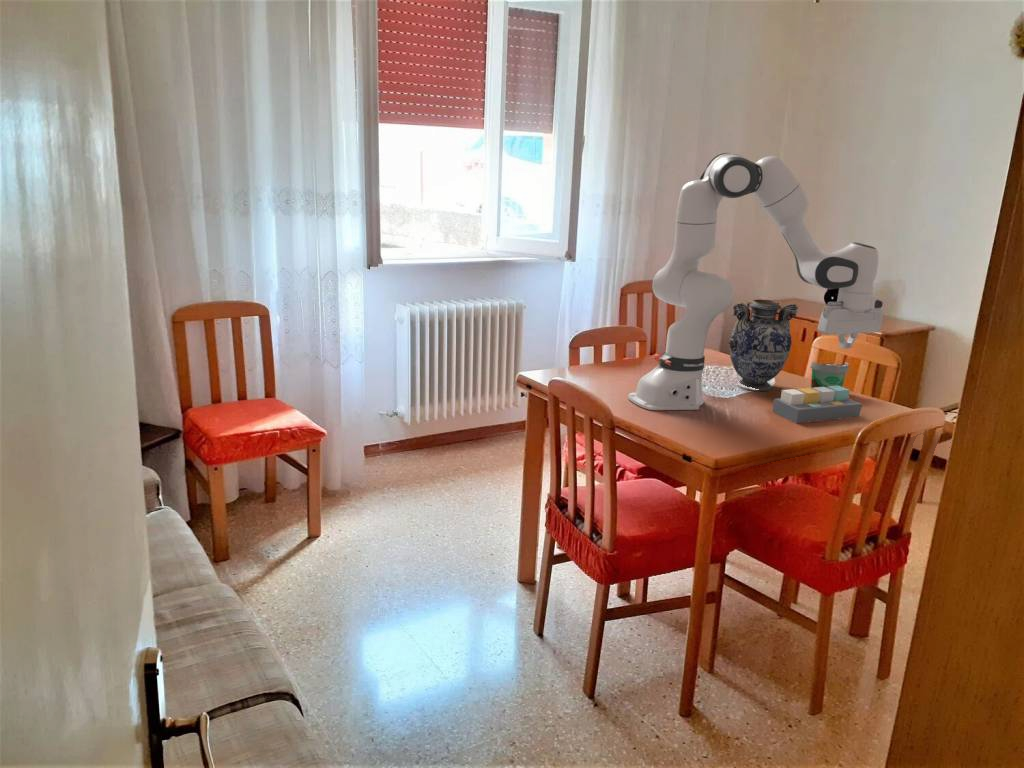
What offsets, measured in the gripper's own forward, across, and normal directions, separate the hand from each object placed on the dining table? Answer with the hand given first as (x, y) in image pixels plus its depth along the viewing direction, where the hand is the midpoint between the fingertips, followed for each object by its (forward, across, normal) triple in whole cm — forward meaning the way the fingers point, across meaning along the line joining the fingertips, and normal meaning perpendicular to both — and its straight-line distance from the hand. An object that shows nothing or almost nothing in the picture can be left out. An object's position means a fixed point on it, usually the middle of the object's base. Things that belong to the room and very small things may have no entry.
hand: (845, 348), depth 216 cm
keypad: (+19, -8, -2) cm, 21 cm away
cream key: (+16, -16, 0) cm, 23 cm away
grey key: (+16, -5, 0) cm, 17 cm away
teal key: (+16, 0, 0) cm, 16 cm away
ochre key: (+16, -11, 0) cm, 19 cm away
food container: (+19, +11, +14) cm, 26 cm away
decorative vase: (+19, -8, +26) cm, 34 cm away
